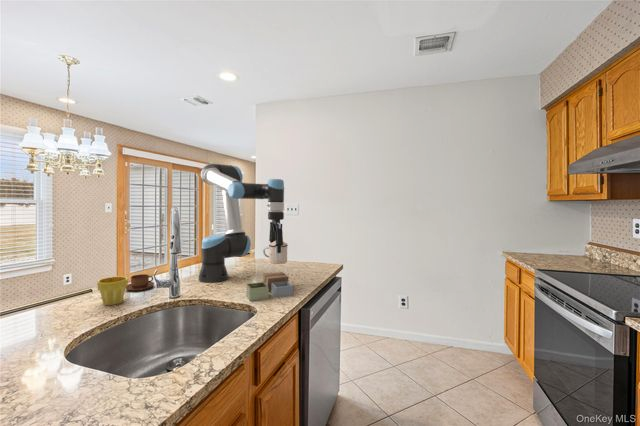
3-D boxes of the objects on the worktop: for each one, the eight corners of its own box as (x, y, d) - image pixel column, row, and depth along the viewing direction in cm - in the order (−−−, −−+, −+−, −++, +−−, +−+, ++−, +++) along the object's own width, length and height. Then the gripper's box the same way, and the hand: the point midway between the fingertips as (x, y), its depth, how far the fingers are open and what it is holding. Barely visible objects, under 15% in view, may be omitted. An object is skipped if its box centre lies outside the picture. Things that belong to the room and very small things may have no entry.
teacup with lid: (289, 260, 149) (289, 237, 148) (285, 264, 140) (285, 240, 139) (265, 260, 150) (265, 237, 149) (260, 264, 141) (260, 239, 140)
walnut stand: (263, 287, 148) (263, 273, 147) (282, 285, 152) (282, 271, 151) (267, 293, 138) (267, 278, 138) (288, 291, 142) (288, 276, 142)
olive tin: (246, 297, 133) (246, 283, 133) (264, 295, 136) (264, 282, 136) (249, 302, 126) (249, 288, 125) (268, 300, 129) (268, 286, 129)
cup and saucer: (140, 284, 151) (140, 272, 151) (159, 286, 148) (159, 274, 148) (118, 291, 139) (118, 278, 139) (139, 293, 136) (139, 280, 136)
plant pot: (131, 302, 124) (130, 279, 124) (101, 308, 117) (100, 284, 116) (124, 296, 131) (123, 274, 131) (95, 302, 124) (94, 279, 123)
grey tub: (271, 293, 139) (271, 282, 138) (287, 291, 142) (287, 281, 142) (275, 298, 131) (275, 287, 131) (292, 296, 134) (293, 285, 134)
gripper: (263, 210, 152) (263, 254, 153) (274, 212, 132) (273, 262, 133) (277, 210, 155) (277, 253, 156) (290, 212, 135) (290, 261, 136)
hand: (275, 257), depth 144 cm, fingers closed on teacup with lid, 9 cm apart
